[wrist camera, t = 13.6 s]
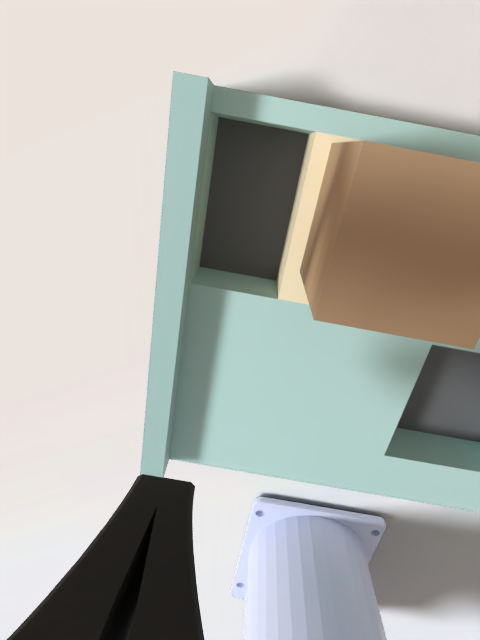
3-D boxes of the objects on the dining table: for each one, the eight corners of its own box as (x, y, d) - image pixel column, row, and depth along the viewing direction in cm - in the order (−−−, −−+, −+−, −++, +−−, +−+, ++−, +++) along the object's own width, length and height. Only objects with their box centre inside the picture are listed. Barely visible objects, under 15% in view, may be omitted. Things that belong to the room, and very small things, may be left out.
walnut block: (414, 292, 15) (473, 349, 11) (299, 271, 15) (313, 320, 10) (463, 168, 13) (558, 178, 9) (331, 142, 13) (363, 140, 9)
